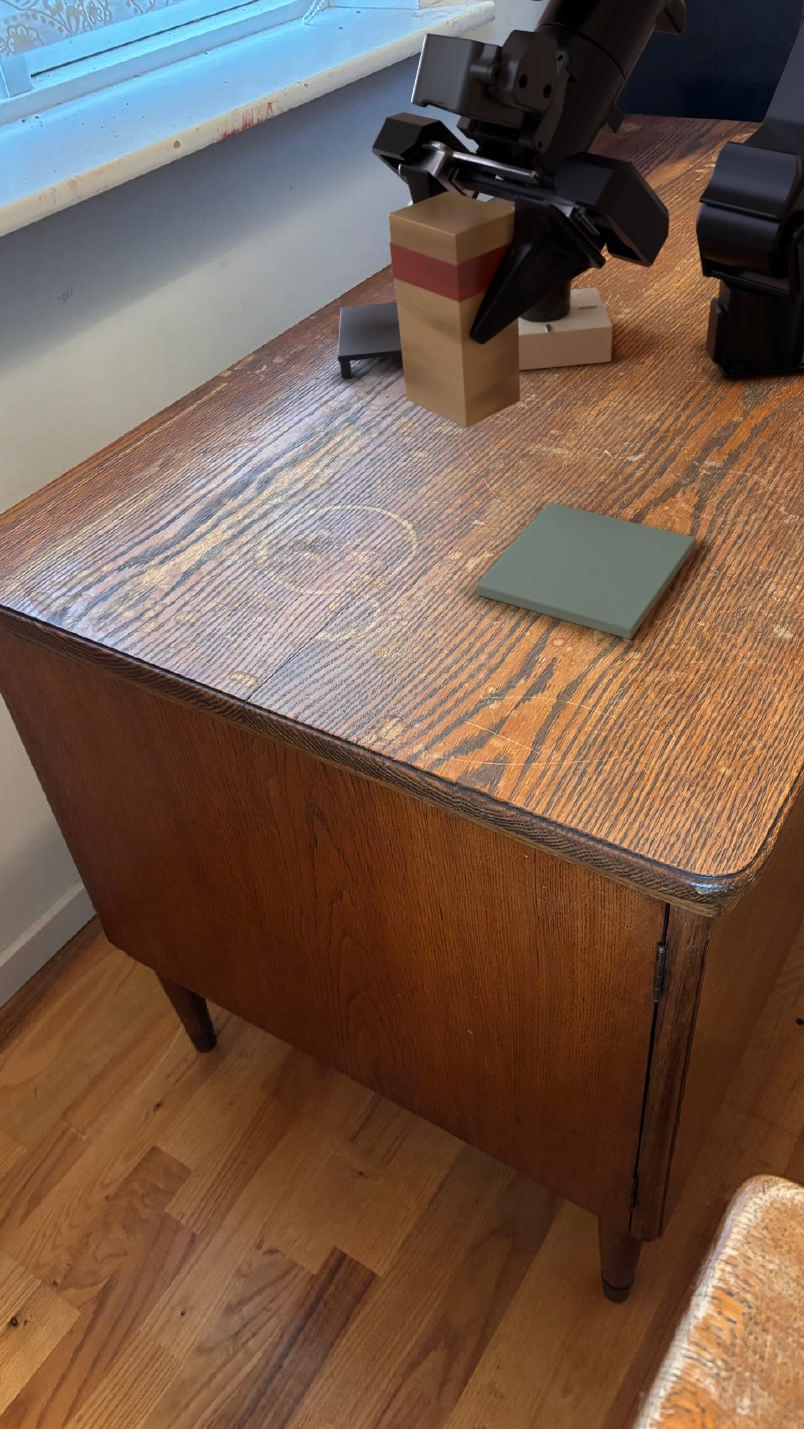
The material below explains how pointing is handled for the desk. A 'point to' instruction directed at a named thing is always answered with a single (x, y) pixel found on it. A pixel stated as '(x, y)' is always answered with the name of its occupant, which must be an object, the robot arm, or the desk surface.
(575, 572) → the mat
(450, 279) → the block
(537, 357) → the panel
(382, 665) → the desk surface
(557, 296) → the oven knob
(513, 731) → the desk surface
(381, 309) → the black low stand
